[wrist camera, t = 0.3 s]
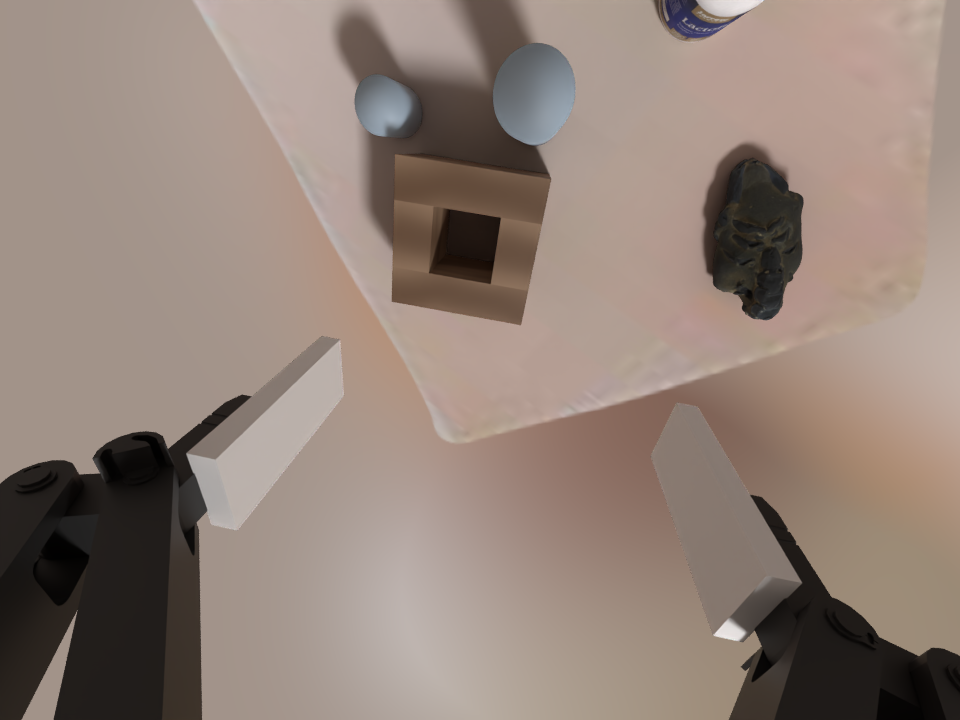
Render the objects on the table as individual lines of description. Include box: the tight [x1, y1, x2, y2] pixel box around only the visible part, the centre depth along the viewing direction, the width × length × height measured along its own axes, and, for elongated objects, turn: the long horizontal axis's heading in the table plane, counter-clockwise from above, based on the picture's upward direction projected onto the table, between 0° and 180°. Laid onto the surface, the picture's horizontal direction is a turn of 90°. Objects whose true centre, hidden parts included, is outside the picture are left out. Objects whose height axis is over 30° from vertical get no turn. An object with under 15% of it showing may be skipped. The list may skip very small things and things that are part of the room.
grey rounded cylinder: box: [355, 74, 422, 138], centre depth 32 cm, size 4×4×5 cm
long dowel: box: [493, 43, 575, 146], centre depth 26 cm, size 4×4×16 cm
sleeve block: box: [392, 154, 551, 325], centre depth 35 cm, size 12×12×7 cm
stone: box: [713, 158, 804, 320], centre depth 32 cm, size 7×13×5 cm, turn 18°
